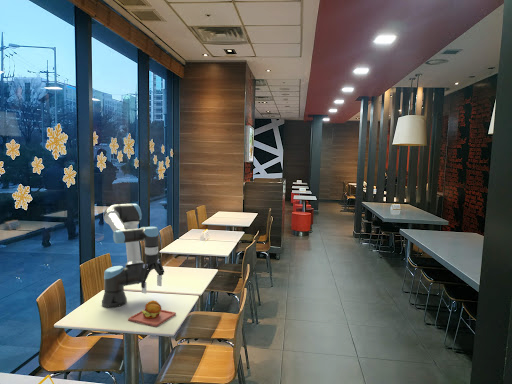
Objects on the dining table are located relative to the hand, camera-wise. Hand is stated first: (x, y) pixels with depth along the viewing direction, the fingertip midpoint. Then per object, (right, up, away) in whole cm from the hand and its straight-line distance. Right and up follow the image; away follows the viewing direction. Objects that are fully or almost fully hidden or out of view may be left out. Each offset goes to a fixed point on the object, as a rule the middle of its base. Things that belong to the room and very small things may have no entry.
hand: (152, 289), depth 215 cm
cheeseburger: (0, -16, +1) cm, 16 cm away
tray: (0, -17, +1) cm, 17 cm away
